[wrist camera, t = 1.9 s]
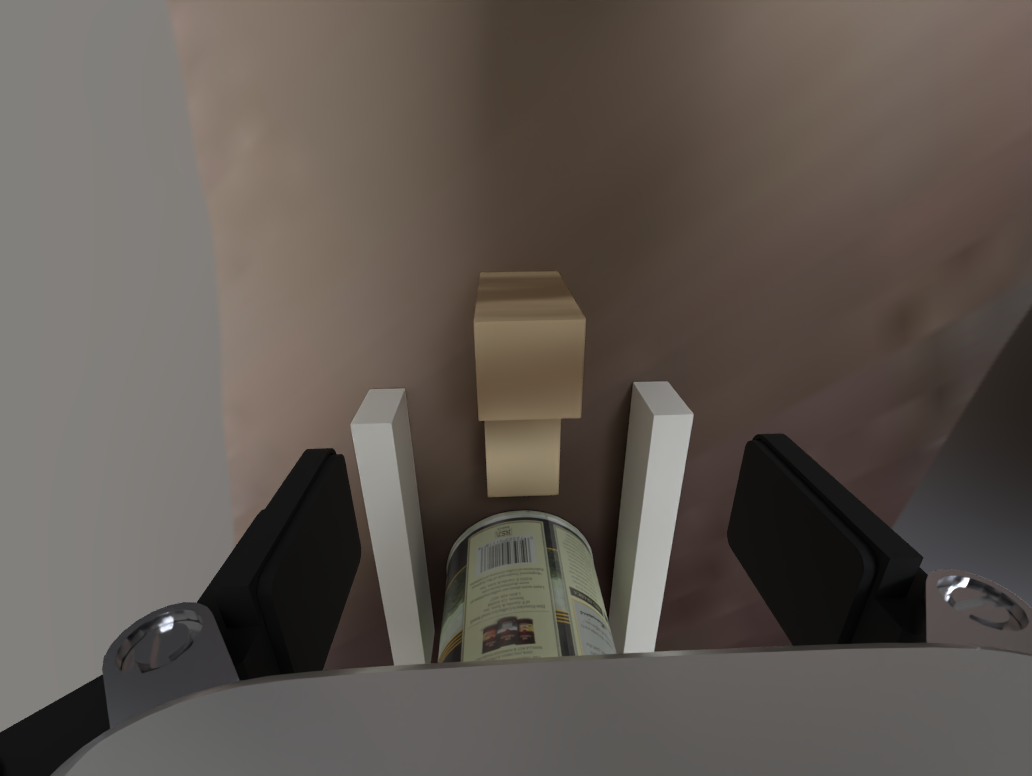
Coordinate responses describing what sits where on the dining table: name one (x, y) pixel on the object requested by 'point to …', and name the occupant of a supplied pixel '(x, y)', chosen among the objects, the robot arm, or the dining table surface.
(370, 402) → the white rectangular posts
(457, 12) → the dining table surface
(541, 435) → the wooden rectangular block
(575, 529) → the coffee can
